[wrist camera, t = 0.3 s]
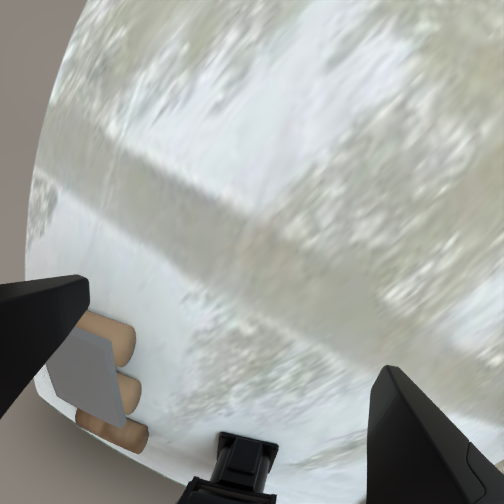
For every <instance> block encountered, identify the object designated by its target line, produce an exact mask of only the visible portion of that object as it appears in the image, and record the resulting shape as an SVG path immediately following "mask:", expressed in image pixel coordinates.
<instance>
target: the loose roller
mask: <svg viewBox="0 0 504 504" xmlns="http://www.w3.org/2000/svg"><path fill="white" fill-rule="evenodd" d="M75 421H76V424H77V425H78V426H80V427H82V428H84V429H85V430H87V431H89V432H91V433H93V434H95V435H97V436H99V437H101V438H103V439H105V440H107V441H109V442H111V443H114V444H116V445H118V446H120V447H122V448H124V449H127V450H129V451H131V452H134V453H136V454H140V453H141V452H142V451H143V449H144V448H145V446H146V443H147V440H148V436H149V432H148V427H147V426H144V425H142V424H139V423H137V422H134V421H132V420H129V419H127V418H126V421H127V422H126V423H125V425H124V426H123V428H122V429H120V428H118V427H115V426H113V425H111V424H109V423H107V422H105V421H103V420H100V419H98V418H96V417H94V416H92V415H90V414H88V413H86V412H84V411H83V410H81V409H79V408H78V409H77V411H76V415H75Z"/></svg>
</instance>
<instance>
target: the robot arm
mask: <svg viewBox="0 0 504 504" xmlns="http://www.w3.org/2000/svg"><path fill="white" fill-rule="evenodd" d="M89 304H90V291H89V281H88V279H87V278H85V277H83V276H80V275H77V274H76V275H68V276H61V277H53V278H45V279H38V280H30V281H23V282H15V283H8V284H1V285H0V419H1V418H2V416H3V415H4V414H5V413H6V411H7V410H8V409H9V407H10V406H11V405H12V404H13V402H14V401H15V400H16V399H17V397H18V396H19V395H20V393H21V392H22V391H23V389H24V388H25V387H26V386H27V385H28V384H29V382H30V381H31V380H32V379H33V377H34V376H35V375H36V374H37V373H38V371H39V370H40V369H41V368H42V367H43V365H44V364H45V363H46V362H47V361H48V359H49V358H50V357H51V356H52V355H53V354H54V353H55V351H56V350H57V349H58V348H59V347H60V346H61V344H62V343H63V342H64V341H65V339H66V338H67V337H68V335H69V334H70V333H71V331H72V330H73V328H74V327H75V326H76V324H77V323H78V321H79V320H80V319H81V317H82V316H83V315H84V313H85V312H86V311H87V309H88V307H89ZM278 449H279V446H278V445H277V444H273V443H268V442H263V441H259V440H254V439H250V438H245V437H241V436H237V435H233V434H229V433H225V432H222V433H221V434H220V436H219V444H218V454H217V463H216V466H215V468H214V471H213V474H212V476H211V479H210V481H207V480H203V479H200V478H199V477H196V476H194V478H193V480H192V481H190V482H189V483H188V485H187V487H186V490H185V491H184V493H183V495H182V496H181V497H180V498H179V500H178V501H177V502H176V503H175V504H276V498H277V495H275V494H272V495H270V494H265V493H263V491H264V487H265V482H266V478H267V474H268V473H270V470H271V468H272V465H273V462H274V460H275V457H276V455H277V452H278ZM366 504H504V474H503V473H502V472H500V471H499V470H498V469H497V468H496V467H495V466H494V465H493V464H492V463H491V462H490V461H489V460H488V459H487V458H486V457H485V456H484V455H483V454H482V453H481V452H480V451H479V450H478V449H477V448H476V447H475V446H474V445H473V444H472V443H471V442H469V439H468V438H467V437H466V436H465V435H464V434H463V433H462V432H461V431H460V430H459V429H458V428H457V427H456V426H455V425H454V424H453V423H452V422H451V420H450V419H449V418H448V417H447V416H446V415H445V414H444V413H443V412H442V411H441V410H440V409H439V408H438V407H437V406H436V405H435V404H434V403H433V402H432V401H431V400H430V399H429V398H428V397H427V396H426V395H425V394H424V393H423V392H422V390H421V389H420V388H419V387H418V386H417V385H416V384H415V383H414V382H413V381H412V380H411V379H410V378H409V377H408V376H407V375H406V374H405V373H404V372H403V371H402V370H401V369H400V368H399V367H396V366H390V365H385V366H384V367H383V368H382V370H381V372H380V374H379V375H378V377H377V379H376V381H375V383H374V384H373V386H372V389H371V393H370V408H369V420H368V431H367V499H366Z"/></svg>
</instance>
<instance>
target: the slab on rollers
mask: <svg viewBox="0 0 504 504" xmlns="http://www.w3.org/2000/svg"><path fill="white" fill-rule="evenodd" d="M135 344H136V333H135V330H134V328H133V327H132V326H129V325H126V324H123V323H120V322H117V321H114V320H111V319H109V318H106V317H103V316H100V315H97V314H95V313H92V312H89V311H86V312H85V313H84V315H83V316H82V317H81V319H80V320H79V321H78V323H77V324H76V326H75V327H74V328H73V330H72V331H71V333H70V334H69V335H68V337H67V338H66V339H65V341H64V342H63V343H62V344H61V346H60V347H59V348H58V349H57V350H56V351H55V353H54V354H53V355H52V356H51V357H50V358H49V359H48V361H47V362H46V363H45V364H46V367H47V370H48V373H49V376H50V379H51V382H52V385H53V387H54V390H55V393H56V395H57V397H59V398H61V399H62V400H64V401H66V402H68V403H70V404H71V405H73V406H75V407H77V408H79V409H81V410H83V411H84V412H86V413H88V414H90V415H92V416H94V417H96V418H98V419H100V420H103V421H105V422H107V423H109V424H111V425H113V426H115V427H118V428H120V429H122V428H123V426H124V425H125V423H126V422H127V421H126V417H125V414H127V415H130V414H131V413H133V412H134V410H135V409H136V407H137V405H138V403H139V400H140V397H141V383H140V382H139V381H138V380H135V379H132V378H130V377H127V376H125V375H122V374H120V373H117V372H116V367H115V366H118V367H124V366H125V365H126V364H127V363H128V362H129V360H130V359H131V357H132V355H133V352H134V349H135Z"/></svg>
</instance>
